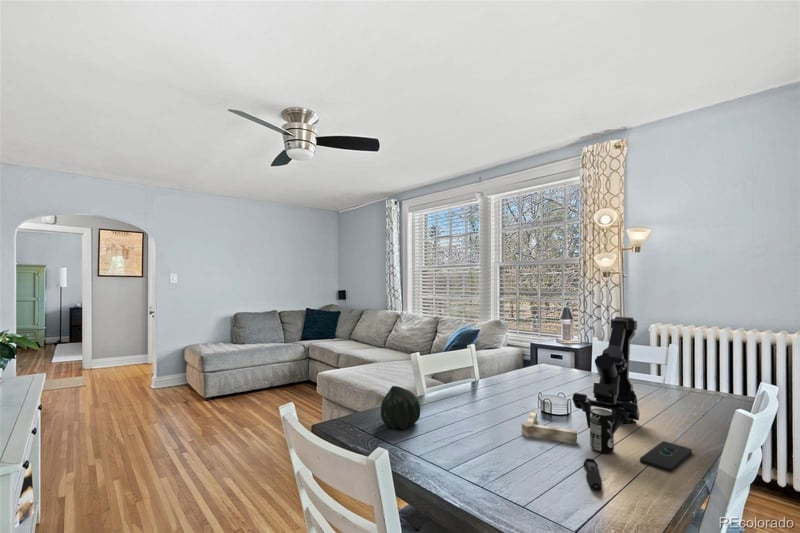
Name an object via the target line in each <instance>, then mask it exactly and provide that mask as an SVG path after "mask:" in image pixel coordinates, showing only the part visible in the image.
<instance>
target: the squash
mask: <svg viewBox="0 0 800 533" xmlns="http://www.w3.org/2000/svg"><path fill="white" fill-rule="evenodd" d="M420 417H421V404H420V401H419V399H418V397H417V396H416V394H415V393H413V392H412V391H411V390H408V389H406V388H404V387H400V386H397V385H392V386H391V387H390V389H389V390H388V392H387V393H386V394H385V396H384V397H383V399H382V402H381V405H380V418H381V421H382V422H383V424H384V425H386V426H387V427H390V428H392V429H393V430H398V429H401V430H406V429H407V428H408V427H412V426H414V425H415V424H416V423H417V422H418V420H420Z"/></svg>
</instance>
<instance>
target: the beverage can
mask: <svg viewBox="0 0 800 533" xmlns="http://www.w3.org/2000/svg"><path fill="white" fill-rule="evenodd" d="M591 411H592V412H591V413H590V428H589V444H590V445H589V446H590V448H591V449H592V450H593V451H594V452H596V453H599V454H601V455H609V454H612V453H613V452H614V450H615V443H614V442H615V441H614V439H615V438H614V436H615V433H614V434H613V433H612V427H613V423H614V420H613V416H612V411H611V410H609V409H605V408H599V407H595V408H591Z"/></svg>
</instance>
